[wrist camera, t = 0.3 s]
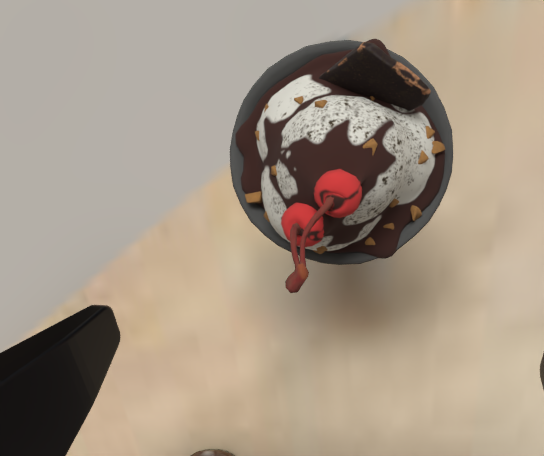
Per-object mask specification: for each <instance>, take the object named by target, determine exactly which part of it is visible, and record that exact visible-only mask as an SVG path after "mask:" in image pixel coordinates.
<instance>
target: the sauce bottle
mask: <svg viewBox="0 0 544 456" xmlns="http://www.w3.org/2000/svg"><path fill="white" fill-rule="evenodd" d="M191 456H233V455H232V454H231V453H229V452H227V451H223V450H219V449H218V450H213V449H209V450H204V451H198V452H196V453H194V454H192V455H191Z"/></svg>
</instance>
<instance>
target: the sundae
mask: <svg viewBox="0 0 544 456" xmlns="http://www.w3.org/2000/svg"><path fill="white" fill-rule="evenodd" d="M452 162H453V141H452V129H451V126H450V123H449V120H448V117H447V114H446V111H445V108H444V106H443V104H442V102H441V100H440V99H439V97H438V95H437V93H436V91H435V89H434V87H433V86H432V85H431V84H430V82H429V81H428V80H427V79H426V78H425V77H424V76H423V75H422V74H421V73H420V72H419V70H418V69H416V68H415V67H414V66H413V65H412V64H410V63H409V62H408V61H407V60H406V59H405V58H403V57H402V56H400V55H398V54H396V53H394V52H392V51H390V50H388V49H386V47H385V45H384V44H383V43H382V42H381V41H380V40H377V39H372V40H369V41H367V42H358V41H351V40H344V41H330V42H325V43H320V44H315V45H310V46H306V47H304V48H302V49H300V50H298V51H296V52H294V53H292V54H290V55H288V56H286V57H284V58H283V59H281V60H280V61H278V62H277V63H275V64H274V65H272V66H271V67H270V68H268V69H267V70H266V71H265V72H264V73H263V75H262V76H261V77H260V78H259V79H258V80H257V82H256V83H255V84H254V85H253V87H252V88H251V90H250V91H249V93H248V94H247V96H246V97H245V99H244V101H243V103H242V105H241V108H240V110H239V113H238V115H237V119H236V122H235V126H234V129H233V134H232V140H231V146H230V167H231V174H232V181H233V187H234V189H235V192H236V194H237V197H238V199H239V201H240V204H241V206H242V208H243V209H244V211H245V213H246V214H247V216H248V218H249V219H250V221H251V222H252V223H253V224H254V225H255V226H256V227H257V228H258V229H259V230H260V231H261V232H262V233H263V234H264V235H265V236H266V237H268V238H269V239H270V240H272V241H273V242H274V243H275V244H277V245H278V246H280V247H282V248H284V249H286V250H288V251H290V252H292V257H293V261H294V264H295V272H293V273H292V274H291V275H290V276H289V277H288V278H287V280H286V288H287V289H288V290H289V292H290V293H295V292H298V291H299V289H300V287H301V286H302V284H303V283H304V282H305V280H306V279H307V277H308V274H309V272H308V270H307V268H306V261H305V258H307V259H310V260H314V261H317V262H321V263H327V264H338V265H342V264H361V263H364V262H367V261H371V260H374V259H377V258H388V257H390V256H392V255H393V254H394V253H395V252H396V251H397V250H398V249H399V248H400V247H402V246H403V245H404V244H405V243H407V242H408V241H409V240H410V239H412V238H413V237H414V236H415V235H416V234H417V233H418V232H419V231H420V230H421V229H422V228H423V227H424V226H425V225H426V224H427V223H428V222H429V220H430V219H431V217H432V216H433V214H434V213H435V211H436V210H437V208H438V206H439V205H440V202H441V200H442V198H443V196H444V194H445V192H446V189H447V186H448V183H449V180H450V176H451V173H452ZM298 255H299V256H300V262H299V258H298Z"/></svg>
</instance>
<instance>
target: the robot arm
mask: <svg viewBox="0 0 544 456" xmlns="http://www.w3.org/2000/svg"><path fill="white" fill-rule="evenodd" d="M119 342H120V331H119V328H118V325H117V322H116V319H115V316H114V313H113V310H112V309H111V308H110V307H109V306H106V305H91V306H89V307H87V308H85V309H83V310H81V311H79V312H77V313H76V314H74V315H72V316H70V317H68V318H66V319H64V320H62V321H60V322H58V323H57V324H55V325H53V326H51V327H49V328H47V329H45V330H43V331H41V332H39V333H38V334H36V335H34V336H32V337H30V338H28V339H26V340H24V341H22V342H20V343H19V344H17V345H15V346H13V347H11V348H9V349H7V350H5V351H3V352H1V353H0V456H66V454H67V452H68V450H69V448H70V446H71V445H72V443H73V441H74V439H75V437H76V435H77V434H78V432H79V430H80V428H81V426H82V424H83V423H84V421H85V419H86V417H87V415H88V413H89V411H90V409H91V407H92V406H93V404H94V401H95V399H96V397H97V395H98V393H99V390H100V388H101V385H102V383H103V381H104V378H105V376H106V374H107V371H108V369H109V367H110V364H111V362H112V360H113V357H114V355H115V352H116V350H117V348H118V345H119ZM540 377H541V382H542V385H543V389H544V353H543V357H542V361H541V364H540Z"/></svg>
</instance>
